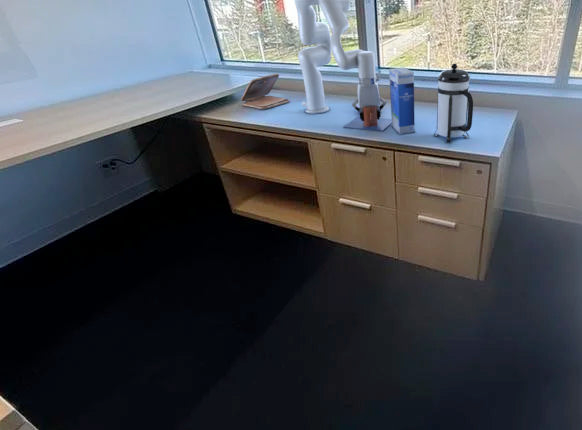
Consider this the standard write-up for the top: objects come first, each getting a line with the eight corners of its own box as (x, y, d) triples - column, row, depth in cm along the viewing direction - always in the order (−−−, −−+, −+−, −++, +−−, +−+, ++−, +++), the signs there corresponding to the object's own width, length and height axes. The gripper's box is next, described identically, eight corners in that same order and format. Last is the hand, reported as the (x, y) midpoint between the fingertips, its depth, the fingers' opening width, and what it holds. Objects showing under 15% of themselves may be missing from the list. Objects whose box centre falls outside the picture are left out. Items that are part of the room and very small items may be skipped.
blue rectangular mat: (343, 127, 180) (343, 127, 180) (357, 117, 193) (357, 116, 192) (382, 131, 174) (382, 130, 174) (394, 120, 186) (394, 119, 186)
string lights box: (415, 132, 171) (414, 72, 157) (399, 134, 169) (397, 74, 155) (406, 123, 181) (404, 66, 168) (390, 125, 180) (388, 68, 166)
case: (269, 97, 233) (263, 70, 225) (291, 101, 223) (286, 73, 214) (240, 105, 220) (233, 77, 211) (263, 110, 209) (256, 80, 200)
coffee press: (429, 141, 160) (430, 67, 144) (438, 129, 172) (440, 59, 157) (469, 146, 154) (475, 68, 138) (477, 133, 167) (483, 60, 151)
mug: (362, 122, 184) (361, 103, 180) (376, 121, 185) (375, 102, 180) (364, 129, 176) (363, 109, 171) (379, 127, 177) (378, 108, 172)
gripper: (385, 78, 176) (387, 115, 185) (347, 80, 173) (351, 119, 183) (387, 81, 169) (389, 120, 179) (349, 84, 167) (352, 123, 176)
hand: (370, 119), depth 181 cm, fingers closed on mug, 7 cm apart
